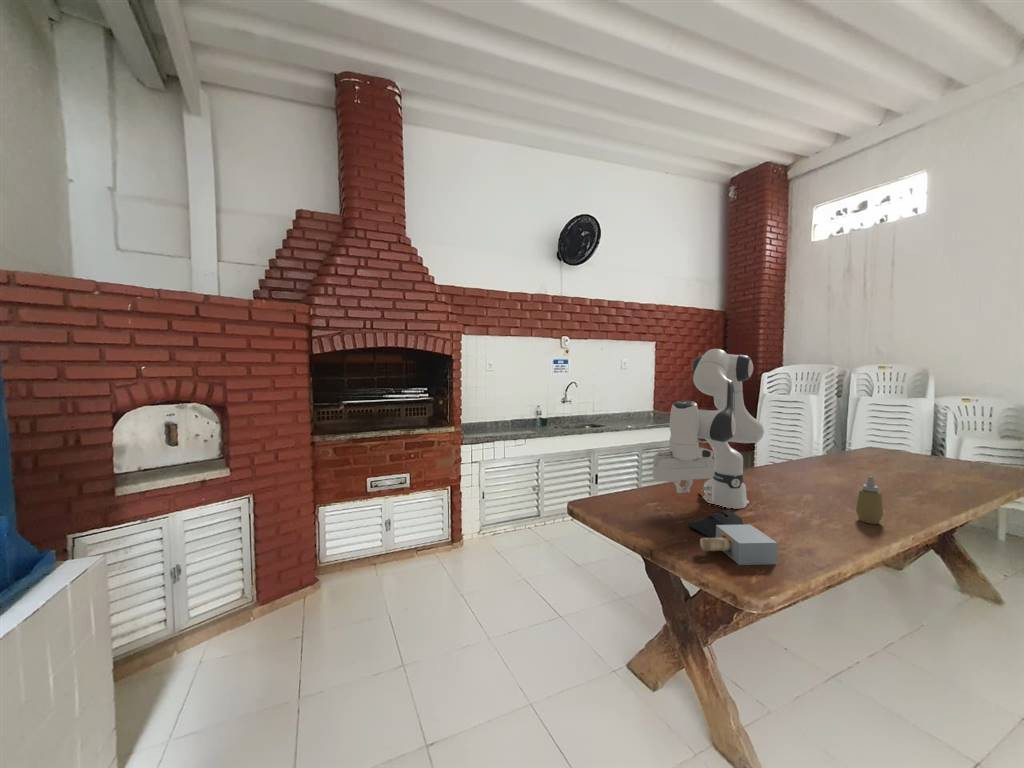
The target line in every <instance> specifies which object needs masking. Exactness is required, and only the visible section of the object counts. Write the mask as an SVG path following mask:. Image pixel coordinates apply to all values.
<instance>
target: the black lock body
mask: <svg viewBox="0 0 1024 768" xmlns="http://www.w3.org/2000/svg"><path fill="white" fill-rule="evenodd" d="M716 525H745V524H744V523H743V518H742V517H740V516H739V515H737V514H735V513H733V512H732V511H731V510H729V509H726V510H724V511H720V513H719V512H715V513H710V514H709V515H707V516H705V517H704V518H701V517H700V518H698V519H695V520H689V521H687V526H688V527H690V528H691V529H693V530H696V531H698V532H699V533H701V534H702V535H704V536H705V537H706V538H716Z"/></svg>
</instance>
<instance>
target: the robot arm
mask: <svg viewBox="0 0 1024 768" xmlns="http://www.w3.org/2000/svg"><path fill="white" fill-rule="evenodd" d="M753 371H754V364H753V360H752V358H751V357H750V356H748V355H744V354H730V353H727V352H726V351H725V350H723V349H720V348H712V349H709V350H707V351H706V352H705V353H704V354H703V355H699V356H697V357H695V358H694V359H693V362H692V365H691V373H692V376H693V377H692V379H693V381H692V382H693V384H694V386H695V387H696V389H698V390H699V391H700V392H701V393H702V394H705V395H708V396H710V397H711V396H712V397H713V403H714V406H715V407H716V410H711V409H709V410H708V409H699V407H698V404H697V403H696V402H695V401H693V400H677V401H675V402H673V403H672V406H671V409H670V413H669V414H670V416H669V431H670V436H669V441H668V442H669V443H668V444H669V445H668V451H665V452H663V451H660V452H657V453H656V454H655V455H654V456H653V467H652V474H651V475H652V478H653V479H654V480H656V481H657V482H673V484H674V485H675V487H676V491H675V492H676V493H677V494H690V491H691V490H690V489H691V487H692V485H693V483H694V480H705V479H706V480H707V481H705V482H704V484H703V487H702V491H703V490H704V493H705V495H706V496H705V495H704V496H703V498H704V499H705V500H706V501H707V500H708V501H707V502H708V503H712V504H716V505H720V506H723V507H722V508H724V507H726V509H731V508H733V510H734V509H744V508H747V505H749V504H750V501H749V500H748V498H747V486H746V484H745V483H744V482H745V475H744V472H743V471H744V457H743V455H742V453H740V452H739V451H737V450H736V449H735V448H732V447H731V446H730V444H729V442H731V443H741V444H755V443H758V442H760V441H761V440H762V439H763V436H764V434H765V433H764V432H765V429H764V426H763V424H762V423H761V422H760V420H758V419H757V418H755V417H754V416H753V415H751V414H750V413H749V411H748V409H746V408H747V407H746V406H745V403H744V393H743V390H744V389H743V382H745V381H747V380H749V379H751V377H752V375H753ZM699 439H704V440H705V441H706V442H707V443H708V444H709V446H710V447H711V449H712V450H711V449H708V448H705V447H703V446H700V442H699ZM713 458H714V459H713ZM682 481H685V482H686V483H685V484H684V486H681V483H682ZM703 498H702V499H703ZM716 505H715V506H716ZM720 506H719V507H720Z"/></svg>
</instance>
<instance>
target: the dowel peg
mask: <svg viewBox="0 0 1024 768" xmlns="http://www.w3.org/2000/svg"><path fill="white" fill-rule="evenodd" d="M699 542H700V543H699V544H700V548H701V550H702V551H703V552H720V551H722V552H724V551H730V550H731V541H730V540H729V539H728V538H709V537H701V538H700V540H699Z"/></svg>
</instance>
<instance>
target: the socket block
mask: <svg viewBox="0 0 1024 768" xmlns="http://www.w3.org/2000/svg"><path fill="white" fill-rule="evenodd" d="M716 538H728V539H729V540H730V541H731V550H730V551H723V553H724V554H726V555H727V556H728V557H729V558H730V559H732V560H733V562H735V563H736V564H737V565H738V566H752V565H753V566H754V565H757V566H758V565H760V566H761V565H777V560H778V558H777V557H778V556H777V555H778V542H777V541H775V540H774V539H773V538H771V537H769V536H768V535H766V533H763V532H762V531H761V530H759V529H757V528H756V526H755V527H754V526H753V525H751V524H744V525H716Z"/></svg>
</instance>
